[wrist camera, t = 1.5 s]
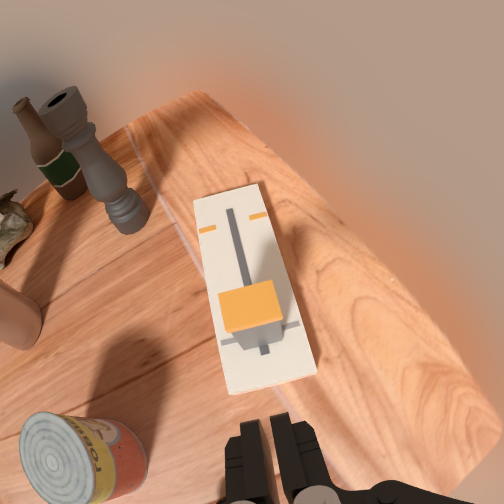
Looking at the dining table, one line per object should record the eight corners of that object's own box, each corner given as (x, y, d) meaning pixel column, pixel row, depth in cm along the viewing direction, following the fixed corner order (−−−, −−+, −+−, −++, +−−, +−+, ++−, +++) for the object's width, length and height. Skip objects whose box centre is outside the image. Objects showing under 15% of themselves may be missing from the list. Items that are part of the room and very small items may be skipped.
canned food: (157, 440, 30) (105, 447, 20) (136, 508, 25) (84, 530, 15) (89, 404, 33) (30, 393, 23) (72, 468, 28) (13, 471, 18)
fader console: (315, 374, 33) (317, 371, 30) (232, 395, 33) (228, 394, 30) (259, 194, 47) (257, 183, 45) (197, 210, 47) (192, 200, 45)
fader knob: (284, 341, 32) (282, 315, 24) (242, 352, 32) (225, 330, 24) (276, 314, 34) (271, 279, 26) (236, 324, 34) (217, 293, 26)
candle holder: (117, 210, 49) (45, 99, 28) (148, 200, 49) (83, 78, 28) (116, 238, 46) (30, 124, 25) (149, 228, 46) (71, 101, 25)
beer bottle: (68, 179, 57) (14, 99, 36) (95, 169, 57) (43, 82, 36) (59, 205, 53) (-5, 123, 32) (87, 196, 53) (24, 104, 32)
